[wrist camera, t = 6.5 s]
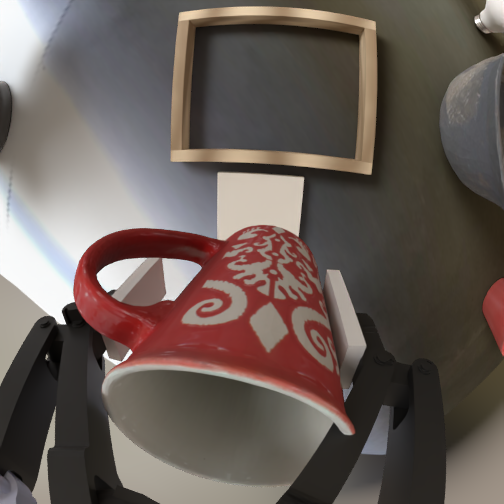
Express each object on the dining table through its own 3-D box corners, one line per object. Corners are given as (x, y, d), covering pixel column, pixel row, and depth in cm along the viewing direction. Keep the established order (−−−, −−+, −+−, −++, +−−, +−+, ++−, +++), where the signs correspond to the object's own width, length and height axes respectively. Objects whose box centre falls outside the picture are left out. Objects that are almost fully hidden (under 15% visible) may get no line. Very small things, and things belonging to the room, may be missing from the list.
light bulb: (484, 11, 14) (526, -5, 4) (499, 50, 16) (547, 41, 6) (454, 2, 15) (496, -22, 5) (471, 42, 18) (521, 27, 8)
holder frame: (179, 159, 29) (170, 161, 27) (186, 20, 22) (179, 12, 20) (364, 171, 27) (371, 174, 25) (368, 29, 20) (375, 21, 18)
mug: (356, 274, 19) (403, 452, 6) (268, 341, 22) (235, 495, 10) (223, 144, 17) (55, 173, 4) (149, 238, 20) (18, 348, 8)
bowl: (472, 225, 28) (543, 277, 14) (383, 141, 26) (462, 151, 12) (518, 130, 21) (591, 146, 7) (440, 38, 19) (514, 7, 5)
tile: (219, 247, 33) (217, 251, 32) (219, 171, 29) (217, 172, 28) (295, 253, 32) (296, 257, 31) (303, 176, 28) (304, 177, 27)
